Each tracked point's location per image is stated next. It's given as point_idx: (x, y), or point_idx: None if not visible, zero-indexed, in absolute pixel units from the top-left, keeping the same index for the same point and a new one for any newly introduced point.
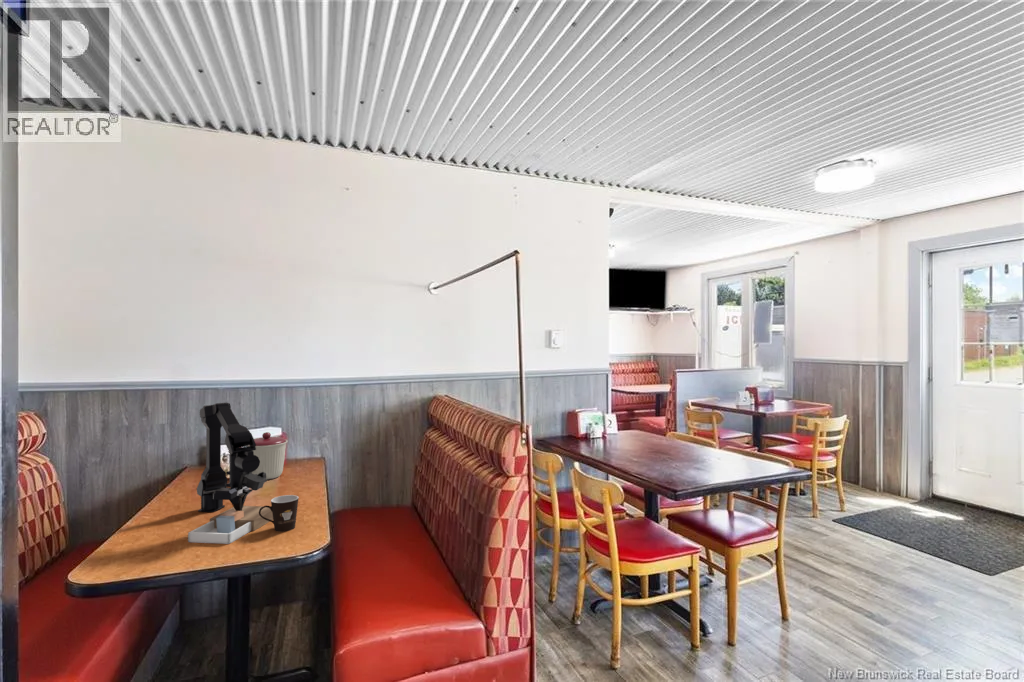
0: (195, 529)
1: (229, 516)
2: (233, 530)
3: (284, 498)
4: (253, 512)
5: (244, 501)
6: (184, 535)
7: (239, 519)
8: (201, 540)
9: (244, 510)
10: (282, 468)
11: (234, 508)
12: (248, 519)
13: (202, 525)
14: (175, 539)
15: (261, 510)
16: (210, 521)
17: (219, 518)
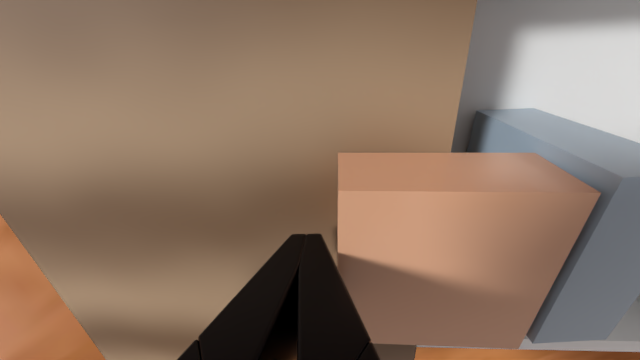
0: (624, 346)
1: (611, 237)
2: (506, 113)
3: None
4: (167, 137)
5: (196, 350)
6: (491, 351)
7: (436, 142)
8: None
9: (162, 261)
10: None
11: (162, 346)
12: (441, 3)
13: (527, 348)
14: (549, 356)
15: (60, 81)
16: (435, 346)
17: (623, 307)
